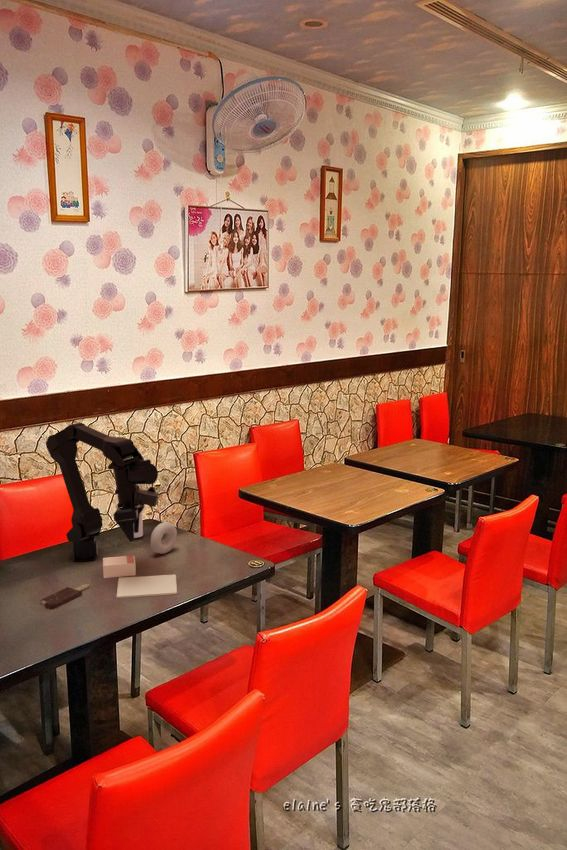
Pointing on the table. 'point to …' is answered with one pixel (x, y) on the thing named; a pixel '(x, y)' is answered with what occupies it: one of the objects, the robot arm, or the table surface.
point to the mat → (146, 586)
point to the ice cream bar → (63, 597)
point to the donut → (169, 541)
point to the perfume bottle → (139, 524)
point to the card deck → (119, 566)
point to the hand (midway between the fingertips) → (134, 536)
